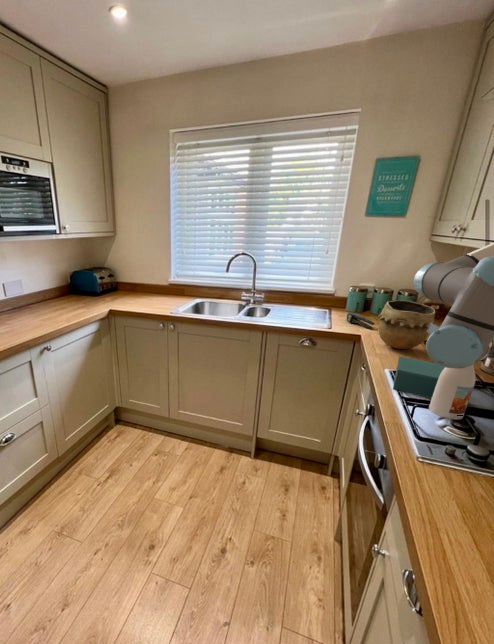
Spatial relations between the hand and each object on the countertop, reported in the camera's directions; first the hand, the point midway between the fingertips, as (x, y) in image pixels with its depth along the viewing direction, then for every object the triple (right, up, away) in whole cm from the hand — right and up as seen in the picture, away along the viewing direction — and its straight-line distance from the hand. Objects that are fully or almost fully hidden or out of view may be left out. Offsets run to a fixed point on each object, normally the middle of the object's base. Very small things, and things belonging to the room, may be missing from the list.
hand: (483, 341), depth 80 cm
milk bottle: (0, -21, +13) cm, 24 cm away
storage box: (+5, -14, +30) cm, 33 cm away
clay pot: (+23, -1, +67) cm, 71 cm away
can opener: (+24, +12, +102) cm, 105 cm away
